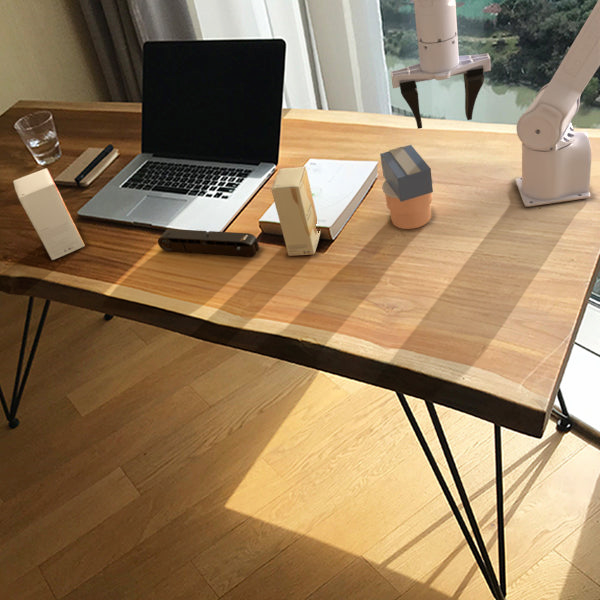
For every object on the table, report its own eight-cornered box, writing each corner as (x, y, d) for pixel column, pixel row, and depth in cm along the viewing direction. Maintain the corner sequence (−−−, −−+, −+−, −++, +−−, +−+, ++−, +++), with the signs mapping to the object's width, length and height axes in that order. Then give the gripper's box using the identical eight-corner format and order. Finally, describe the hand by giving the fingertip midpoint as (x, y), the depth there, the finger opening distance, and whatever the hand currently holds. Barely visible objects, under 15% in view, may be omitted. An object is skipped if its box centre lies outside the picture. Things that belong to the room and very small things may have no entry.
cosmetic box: (314, 255, 105) (298, 187, 97) (288, 257, 106) (269, 190, 98) (321, 231, 109) (306, 164, 102) (295, 233, 111) (278, 167, 103)
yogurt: (433, 201, 109) (429, 167, 106) (438, 227, 104) (435, 193, 100) (385, 208, 111) (381, 175, 107) (388, 235, 105) (383, 201, 101)
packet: (383, 176, 106) (379, 153, 104) (413, 167, 107) (410, 143, 104) (400, 201, 100) (397, 177, 97) (433, 192, 100) (430, 167, 97)
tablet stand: (160, 251, 115) (154, 237, 113) (168, 242, 117) (162, 228, 115) (254, 258, 108) (249, 242, 106) (260, 248, 109) (256, 233, 107)
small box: (86, 246, 121) (54, 183, 113) (51, 261, 120) (17, 198, 112) (77, 227, 127) (46, 166, 119) (44, 241, 126) (11, 180, 118)
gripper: (389, 55, 97) (399, 141, 105) (493, 35, 94) (495, 124, 103) (386, 37, 102) (396, 120, 111) (484, 18, 100) (487, 105, 108)
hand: (444, 121), depth 107 cm, fingers open, 7 cm apart
